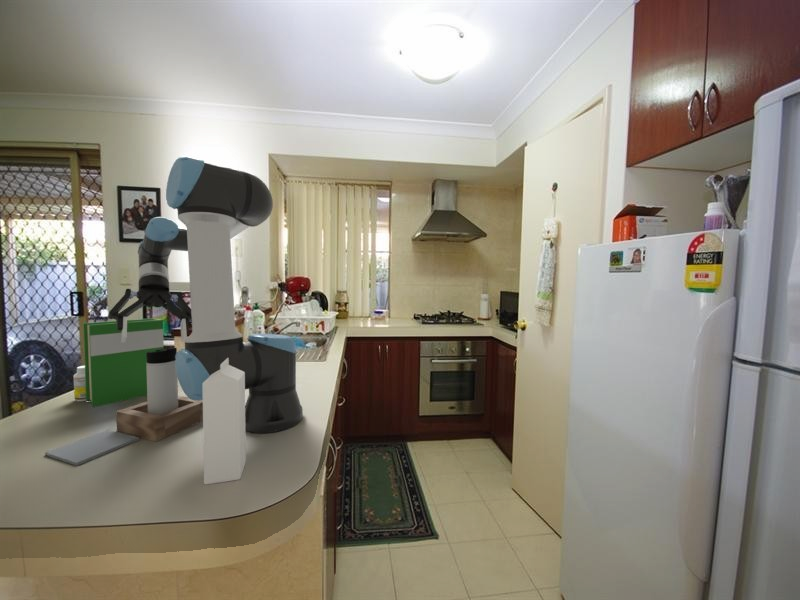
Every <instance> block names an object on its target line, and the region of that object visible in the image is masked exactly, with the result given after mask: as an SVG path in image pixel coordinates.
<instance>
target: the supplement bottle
mask: <svg viewBox="0 0 800 600" xmlns="http://www.w3.org/2000/svg"><path fill="white" fill-rule="evenodd" d="M74 390H75V391H74ZM73 392H74V396H73V397H74V400H75V401H76V400H77V401H76V402H86V384H85V364H84V365H80V366H77V367H76V373H75V374H73Z"/></svg>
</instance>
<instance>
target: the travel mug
mask: <svg viewBox="0 0 800 600" xmlns="http://www.w3.org/2000/svg"><path fill="white" fill-rule="evenodd" d="M177 352H178V351H177V347H168V348H164V349H160V350H156V351H154V352H147V353H146V357H147V362H146V364H147V366H146V367H147V395H146V396H147V397H146V398H147V399H146V400H147V401H146V402H148V413H149V414H154V415H162V414H164V413H167V412H170V411H172V410H175V409H178V395H179V389H178V387H179V385H178V383H179V380H178V377H177V373H176V368H175V360H176V358H175V356H176V353H177Z"/></svg>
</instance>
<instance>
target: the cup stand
mask: <svg viewBox="0 0 800 600" xmlns="http://www.w3.org/2000/svg"><path fill="white" fill-rule="evenodd" d="M115 416H116V419H115V420H116V432H119V433H123V434H126V435H130V436H134V437H138V438H142V439H145V440H150V441H152V442H159V441H161V440H163V439H165V438H168V437H170V436H172V435H174V434H176V433H179V432H182V431H183V430H185V429H188V428H190V427H192V426H195V425H197V424H199V423H201V422H203V400H200V401H195V400H192V399H190V398H188V397H187V396H185V395H184V396H182V395H179V394H178V409H175V410H172V411H170V412H167V413H164V414H162V415H154V414H149V413H148V402H147V401H144V402H141V403H138V404H136V405H132V406H128V407H125V408H123V409H119V410H116V411H115Z"/></svg>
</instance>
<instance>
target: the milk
mask: <svg viewBox="0 0 800 600" xmlns="http://www.w3.org/2000/svg"><path fill="white" fill-rule="evenodd" d="M202 391H203V421H202V432H203V433H202V435H203V437H202V438H203V440H202V441H203V484H204V485H212V484H217V483H224V482H226V483H227V482H230V481H239V480H240V479H241V477H242V474H243V471H244V469H245V466H246V463H247V462H246V461H247V460H246V459H247V456H246V455H247V453H246V451H247V449H246V447H247V446H246V443H247V442H246V440H247V439H246V436H247V435H246V430H245V405H246V390H245V372H243V371H241V370H239V369H237V368H235V367H233V366H230V365H229V358H227V359H226V360H225V361H224V362H223V363H221V365H220V370H218V371H216V372H215V373H213V374H212V375H211V376H209V377H208V378H207V379H206V380H205V381H204V382H203V383H202Z"/></svg>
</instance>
